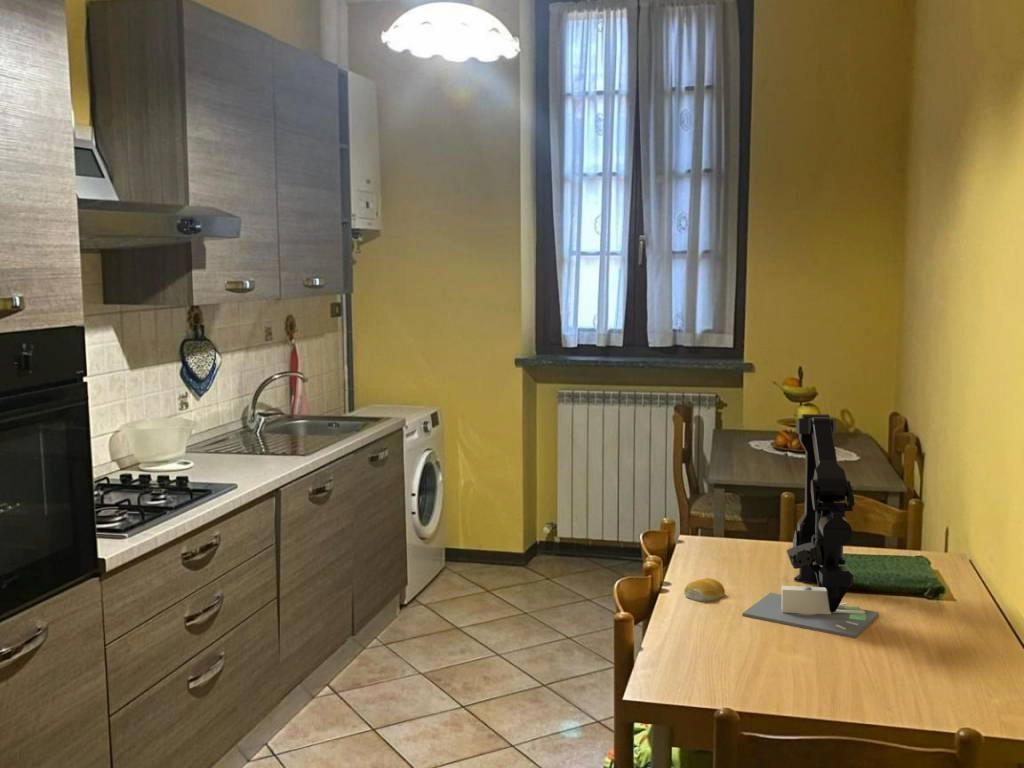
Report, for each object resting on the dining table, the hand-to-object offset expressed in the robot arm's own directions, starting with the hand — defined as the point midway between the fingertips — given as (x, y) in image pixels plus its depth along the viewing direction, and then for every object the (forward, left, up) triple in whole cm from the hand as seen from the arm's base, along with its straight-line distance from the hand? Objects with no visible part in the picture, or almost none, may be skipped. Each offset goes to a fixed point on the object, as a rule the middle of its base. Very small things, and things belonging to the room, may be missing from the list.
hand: (827, 604), depth 216 cm
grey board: (+1, -3, -2) cm, 4 cm away
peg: (+1, -1, -2) cm, 2 cm away
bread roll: (+3, -27, -3) cm, 28 cm away
